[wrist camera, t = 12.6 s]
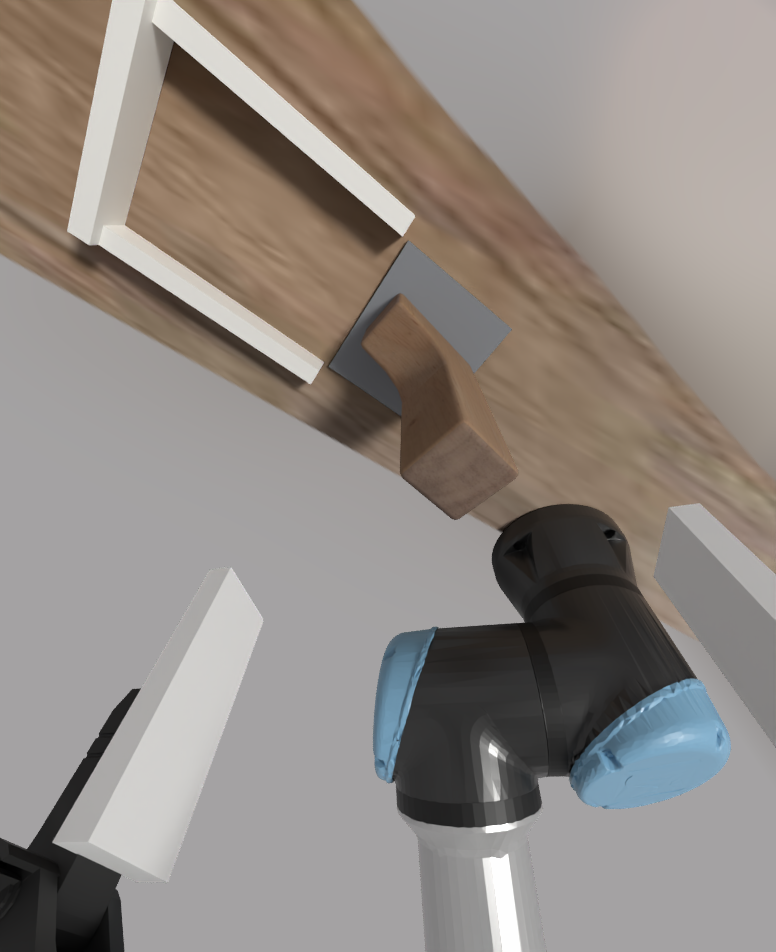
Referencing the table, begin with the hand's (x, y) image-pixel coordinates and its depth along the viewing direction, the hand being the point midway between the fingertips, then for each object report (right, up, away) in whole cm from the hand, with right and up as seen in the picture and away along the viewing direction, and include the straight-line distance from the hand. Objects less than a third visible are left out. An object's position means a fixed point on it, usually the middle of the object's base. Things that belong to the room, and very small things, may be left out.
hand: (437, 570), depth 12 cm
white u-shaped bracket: (-12, +22, +17) cm, 31 cm away
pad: (+1, +14, +22) cm, 26 cm away
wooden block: (+1, +14, +22) cm, 26 cm away
